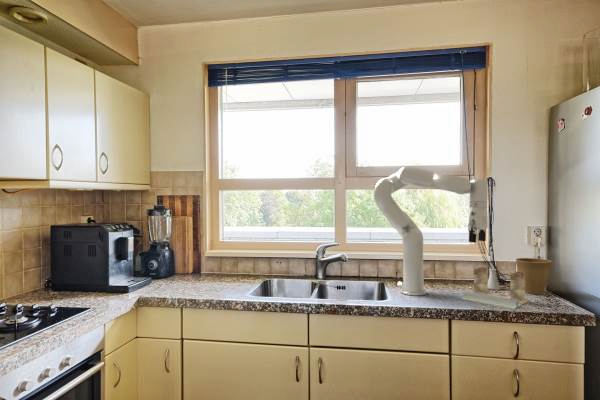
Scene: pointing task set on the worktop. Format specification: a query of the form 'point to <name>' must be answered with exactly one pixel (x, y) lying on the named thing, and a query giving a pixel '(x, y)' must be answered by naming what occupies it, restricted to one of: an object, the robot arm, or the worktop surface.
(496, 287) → the flask
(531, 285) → the plant pot
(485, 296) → the rail
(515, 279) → the rail rack
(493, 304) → the mat
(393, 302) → the worktop surface
